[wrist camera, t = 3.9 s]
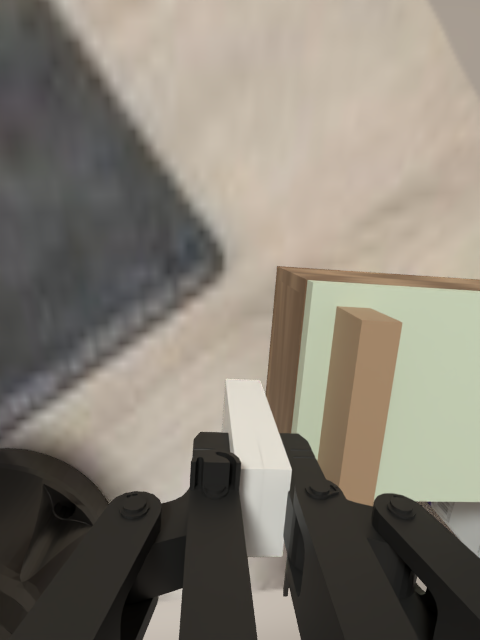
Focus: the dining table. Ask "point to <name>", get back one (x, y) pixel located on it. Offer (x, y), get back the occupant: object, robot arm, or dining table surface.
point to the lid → (392, 390)
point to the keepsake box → (291, 323)
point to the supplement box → (461, 521)
